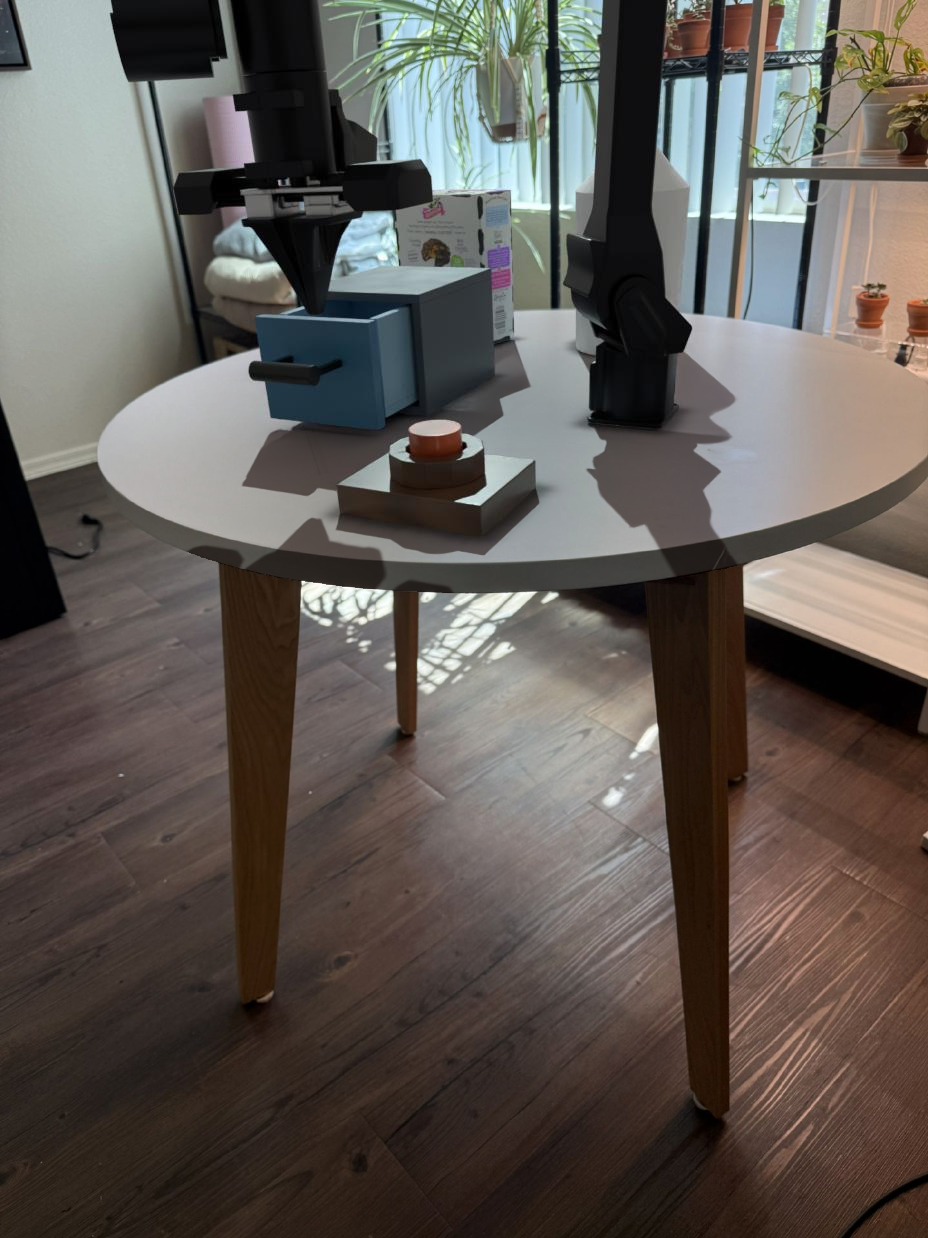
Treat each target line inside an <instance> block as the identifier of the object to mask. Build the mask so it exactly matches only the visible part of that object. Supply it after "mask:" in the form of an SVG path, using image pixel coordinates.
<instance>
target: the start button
mask: <svg viewBox="0 0 928 1238" xmlns="http://www.w3.org/2000/svg"><path fill="white" fill-rule="evenodd" d="M407 430H408V431H407V432H408V437H409V445H410V454H411V455H413V456H419V457H428V458H433V457H446V456H450V455H453V454H457V453H460V452H461V451H462V434H463V432H462V425H461V423H459V422H457V421H454V420H449V419H430V420H423V421H419V422H416V423H413V424H411V425H410V426H409V427H408V429H407Z"/></svg>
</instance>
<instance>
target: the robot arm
mask: <svg viewBox="0 0 928 1238" xmlns="http://www.w3.org/2000/svg"><path fill="white" fill-rule="evenodd" d="M668 3H669V0H602V6H601V29H600V30H601V31H600V49H599V50H600V52H599V71H598V89H597V90H598V91H597V92H598V93H597V111H596V113H597V114H596V132H595V137H596V138H595V154H594V169H595V173H594V194H593V206H592V211H591V214H590V217H589V220H588V222H587V225H586V227H585V230H584V232H583V235H579V234H576V233H571V232H568V233H566V236H565V239H566V240H565V246H566V253H567V269H566V273H565V276H564V279H563V282H562V285H563V286H564V287H566V288H568V289H570V297H571V298H570V299H571V302H572V305H573V307H574V308H575V310H576V309H577V310H578V311H579V312H580V313H581V315H582V316H583V317H585V318H587V319H588V320H589V321H590V324H591V327H592V330H593V333H594V336H595V337H596V338H600V339H602V340H604V341H603V342H602V343H600V344H599V345H597V346H596V355H595V360H593V361H592V362H591V363H590V364H589V375H588V376H589V378H588V380H589V383H588V409H589V410H590V411H591V413H590V414H589V415H587V421H586V422H587V423H589V424H595V425H597V424H598V425H604V426H605V425H607V426H617V427H627V428H635V429H636V428H638V429H649V430H661V429H662V428H663V427H664V426H666V424H667V423H668V422H669V421H670V420H671V419H672V418H673V417H674V416H675V414H677V412H679V410H680V404H679V403H677V402H675V398H676V397H675V395H676V381H677V369H678V368H677V367H678V356H679V355H678V354H682V353H684V351H685V350H686V347H687V344H688V341H689V340H690V337H691V335H692V331H693V325H692V324H691V323H690V322H689V321H688V320H687V319H686V318H685V316H683V314H681V313H680V310H679V311H678V310H677V309H676V308H675V307H674V306H673V305H672V304H671V303H670V302H669V301H668V300H667V299H666V298H665V297H666V290H665V275H664V260H663V251H662V247H661V243H660V240H659V236H658V232H657V228H656V225H655V221H654V217H653V212H652V198H653V185H654V172H655V160H656V147H657V146H658V135H659V134H658V133H659V131H658V130H659V122H660V121H659V120H660V107H661V93H662V81H663V69H664V68H663V67H664V55H665V43H666V29H667V16H668V5H669V4H668ZM110 5H111V9H112V12H109V17H110V18H109V19H110V22H111V27H112V32H113V36H114V41H115V44H116V45H115V46H116V49H117V53H118V56H119V59H120V64H121V66H122V69H123V73H124V75H125V78H126V80H127V82H128V83H140V82H141V83H143V82H157V81H158V82H160V81H176V80H194V79H198V80H199V79H210V78H211V79H213V78H215V71H214V65H213V64H214V63H219V62H220V60H229V56H228V49H227V43H226V37H225V29H224V22H223V18H222V12H221V5H220V0H110ZM229 5H230V12H231V18H232V25H233V31H234V32H233V33H234V37H235V44H236V50H237V57H238V63H239V70H240V75H241V83H242V89H243V93H233V94H232V100H233V106H234V113H236V112H237V113H238V112H239V113H240V112H246V114H247V121H248V128H249V133H250V134H249V135H250V140H251V147H252V155H253V159H254V161H252V162H251V161H250V162H244V163H243V166H237V167H236V166H235V167H216V168H208V169H206V168H205V169H199V170H198V169H197V170H190V171H179V172H178V174H177V177H176V179H175V182H174V185H173V187H172V192H173V196H174V202H175V207H176V212H177V215H178V216H201V215H204V216H205V215H207V216H208V215H211V214H213V212H214V211H215V210H217V209H223V208H242V207H243V208H245V212H246V217H245V218H241V219H240V222H241V226H242V227H243V228H250V229H251V230H252V231H253V233H255V235H256V236H257V238H258V239H259V240H260V242H261V243H262V245H263V246H264V247H265V249H266V250H267V251H268V253H269V254H270V255H271V257H272V258H273V260H274V261H275V263H276V264H277V265H278V267H279V269H280V270H281V272H282V273H283V275H284V277H285V278H286V280H287V281H288V283H289V285H290V286H291V288H292V290H293V292H294V294H296V296H297V298H298V300H299V301H300V304H301V303H302V304H303V306H304V308H305V309H306V311H307V313H308V314H310V315H319V314H321V313H323V312H324V310H325V305H326V300H327V295H328V290H329V285H330V281H332V280H331V279H332V275H333V270H334V266H335V261H336V256H337V253H338V249H339V246H340V242H341V240H342V238H343V235H344V234H345V232H346V230H347V229H348V227H349V225H350V224H351V223H352V221H353V220H357V219H361V218H363V215H364V212H390V211H394V210H400V209H405V208H409V207H413V206H418V205H422V204H426V203H430V202H433V193H432V190H433V181H432V175H431V173H430V171H429V169H428V167H427V166H426V164H425V163H424V161H423V160H422V159H421V158H412V159H411V158H410V159H391V160H390V159H388V160H387V159H386V160H377V157H378V142H379V138H378V137H377V136H376V135H374V134H373V133H372V132H370V131H369V130H367V129H366V128H364V127H363V126H362V125H360V124H359V123H357V122H356V121H353V120H351V119H348V118H346V116H345V112H344V108H343V100H342V96H340V92H339V91H340V90H339V88H329V83H328V82H329V81H328V74H327V67H326V66H327V65H326V56H325V47H324V40H323V39H324V38H323V32H322V22H321V13H320V4H319V0H229ZM282 180H283V181H284V180H289V182H290V184H280V183H279V181H282ZM308 180H309V182H314V181H317V182H319V183H308ZM300 203H303V204H304V206H303V208H304V210H303V209H301V205H300ZM590 411H589V412H590Z"/></svg>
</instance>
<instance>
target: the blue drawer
mask: <svg viewBox="0 0 928 1238" xmlns="http://www.w3.org/2000/svg"><path fill="white" fill-rule="evenodd" d="M253 318H254V324H255V330H256V335H257V336H256V337H257V343H258V348H259V355H260V360H252V361H251V362H250V363H249V365H248V368H247V369H248V370H247V371H248V372H247V373H248V376H249V378H250V379H251V380H252V381H255V382H263V383H264V386H265V391H266V398H267V404H268V410H269V416H270V417H269V418H270V419H274V420H275V419H276V420H282V421H283V420H284V421H292V422H293V421H294V422H302V423H311V424H319V425H320V424H321V425H328V426H337V427H346V428H354V429H355V428H356V429H363V430H364V429H365V430H372V431H380V430H382V429H383V428H385V427H386V419H385V418H388V417H391V416H392V415H394V414H396V413H395V412H397V411H399V410H401V409H403V408H405V407H406V406H408V405H410V404H412V403H414V402H415V401H417V400H419V392H418V379H417V366H416V352H415V339H414V326H413V312H412V304H403V303H379V302H355V301H331V300H326V305H325V310H324V312H323V313H321V314H319V315H310V314H308V313H307V311H306V309H305V308H304V306H302V307H301V306H299V307H297V308H294V309H290V310H287V311H284V312H281V313H279V314H267V313H263V314H259V315H256V316H254V317H253Z"/></svg>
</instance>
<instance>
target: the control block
mask: <svg viewBox="0 0 928 1238" xmlns="http://www.w3.org/2000/svg"><path fill="white" fill-rule="evenodd" d="M536 465H537V464H536V460H535V459H529V458H520V457H513V456H504V455H497V454H487V453H485V446H484V441H483V440H482V439H481V438H479V437H476V436H474V435H471V434H469V433H462V451H461V452H460V453H457V454H453V455H450V456H446V457H433V458H428V457H419V456H413V455H411V454H410V445H409V436H407V437H403V438H400V439H398V440H397V441H395V442H393V443H392V444H390V445H389V446H388V452H387V453H385V454H384V455H383V456H381V457H379V458H377V459H376V460H374V461H372V462H371V463H369V464H368V465H366V466H364V467H363V468H361V469H359V470H358V471H356V472H354V473H353V474H352V475H350V476H348V477H347V478H345V479H343V480H342V481H340V482H337V483H336V486H335V487H336V494H337V502H338V508H339V510H338V511H339V514H341V515H344V516H345V515H346V516H351V517H357V518H364V519H371V520H376V521H383V522H388V523H395V524H400V525H407V526H413V527H420V528H425V529H432V530H439V531H445V532H451V533H455V534H456V533H457V534H463V535H468V536H475V537H480V538H481V537H484V536H485V535H486V534H487V533H489V531H490V530H491V529H493V528H494V527H495V526H496V525H497V524H498V523H499V522H501V521H502V520H503V519H504V518H505V517H506V516H507V515H508V514H509V513H511V511H512V510H514V509H515V508H516V507H517V506H518V505H520V503H522V502H523V501H524V500H525V499H526V498H527V497H528V496H530V495H531V493H532V492H534V491H535V490H536V488H537V481H536V480H537V477H536V476H537V473H536V471H537V470H536Z"/></svg>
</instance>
